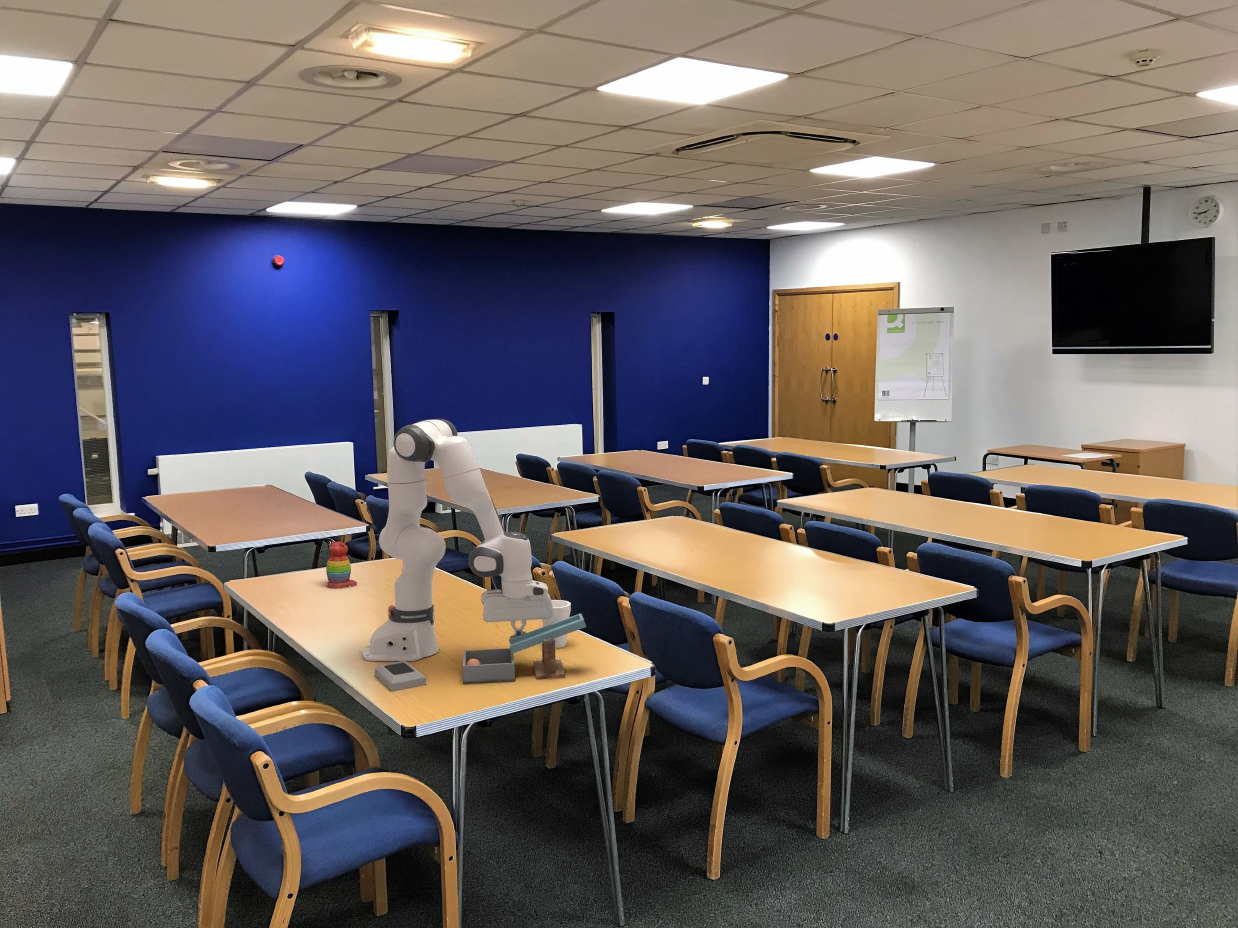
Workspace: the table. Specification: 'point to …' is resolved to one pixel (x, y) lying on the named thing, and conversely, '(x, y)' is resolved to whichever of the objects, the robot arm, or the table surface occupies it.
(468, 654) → the tray
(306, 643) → the table surface
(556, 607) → the foam cup
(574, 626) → the chute lever
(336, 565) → the stacking bear
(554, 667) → the pivot stand
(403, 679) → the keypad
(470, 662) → the ball
